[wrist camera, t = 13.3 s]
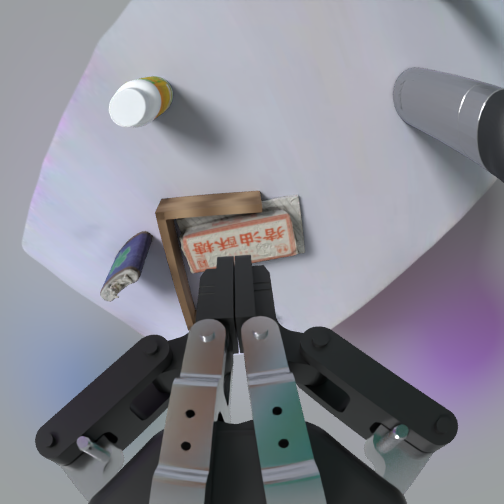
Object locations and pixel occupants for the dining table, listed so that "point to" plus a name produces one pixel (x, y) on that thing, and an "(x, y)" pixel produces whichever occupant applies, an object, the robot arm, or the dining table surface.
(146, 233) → the flask
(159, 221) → the frame
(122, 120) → the supplement bottle
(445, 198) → the dining table surface
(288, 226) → the packaged product
